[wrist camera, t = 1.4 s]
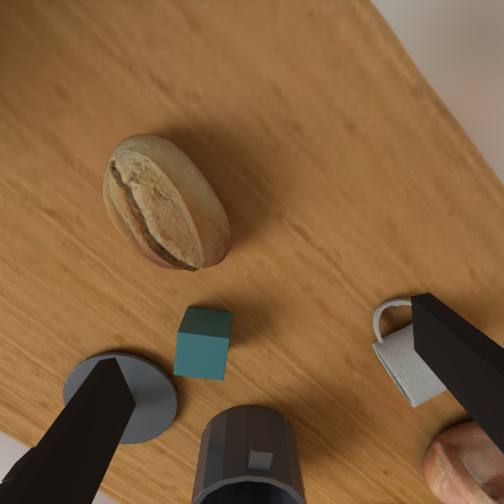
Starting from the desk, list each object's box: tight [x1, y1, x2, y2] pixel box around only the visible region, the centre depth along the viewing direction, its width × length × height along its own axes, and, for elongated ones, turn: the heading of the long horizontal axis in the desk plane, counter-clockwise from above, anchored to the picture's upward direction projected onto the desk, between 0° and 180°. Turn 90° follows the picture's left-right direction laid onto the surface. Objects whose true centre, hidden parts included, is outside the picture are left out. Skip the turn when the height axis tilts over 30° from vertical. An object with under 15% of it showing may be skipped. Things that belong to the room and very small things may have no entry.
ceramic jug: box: [422, 421, 504, 504], centre depth 37 cm, size 18×14×14 cm
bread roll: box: [103, 134, 232, 271], centre depth 28 cm, size 10×15×8 cm, turn 36°
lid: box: [63, 352, 178, 444], centre depth 36 cm, size 15×15×9 cm
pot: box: [191, 406, 307, 504], centre depth 38 cm, size 14×19×10 cm
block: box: [174, 307, 232, 381], centre depth 34 cm, size 6×6×6 cm
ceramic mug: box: [372, 299, 447, 407], centre depth 34 cm, size 11×8×8 cm
